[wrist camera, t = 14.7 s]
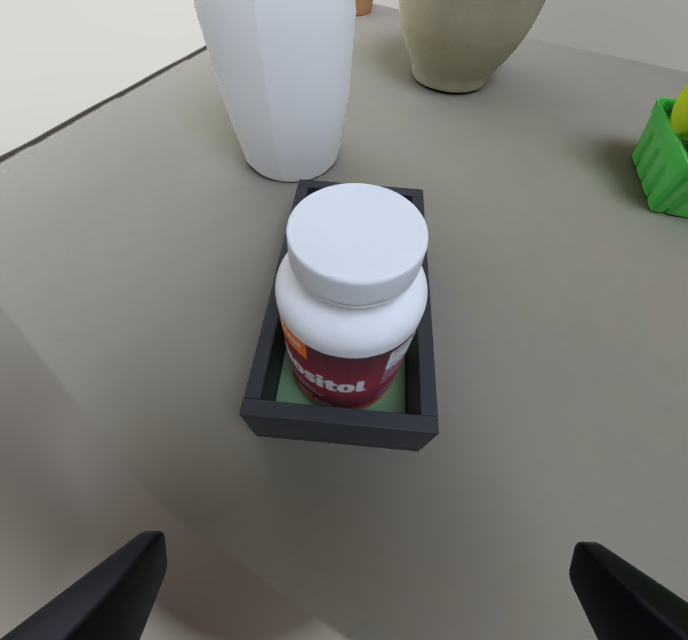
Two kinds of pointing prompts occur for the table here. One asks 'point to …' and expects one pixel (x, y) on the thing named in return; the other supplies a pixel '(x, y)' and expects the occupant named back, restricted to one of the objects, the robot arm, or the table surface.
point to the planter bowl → (463, 38)
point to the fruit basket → (665, 156)
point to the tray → (335, 422)
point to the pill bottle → (351, 291)
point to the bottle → (283, 78)
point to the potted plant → (363, 7)
